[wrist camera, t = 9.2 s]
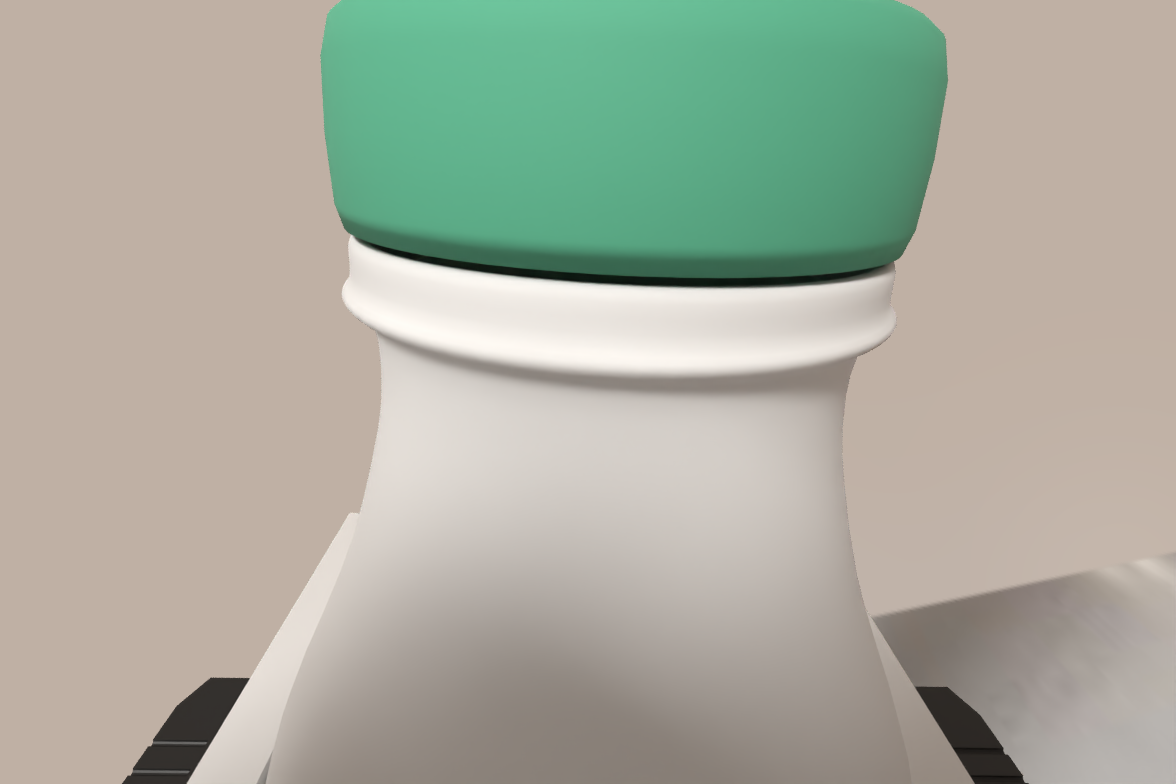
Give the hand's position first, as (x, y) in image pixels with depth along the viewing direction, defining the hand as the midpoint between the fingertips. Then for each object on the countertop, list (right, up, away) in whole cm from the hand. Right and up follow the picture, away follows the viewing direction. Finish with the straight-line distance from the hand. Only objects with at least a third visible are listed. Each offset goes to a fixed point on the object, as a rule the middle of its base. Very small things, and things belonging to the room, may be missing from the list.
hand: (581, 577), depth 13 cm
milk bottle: (0, -12, -1) cm, 12 cm away
